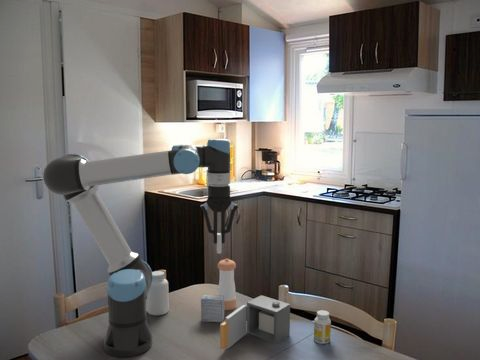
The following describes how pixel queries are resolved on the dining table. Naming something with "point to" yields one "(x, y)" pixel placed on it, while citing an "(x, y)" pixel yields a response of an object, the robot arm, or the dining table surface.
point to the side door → (233, 327)
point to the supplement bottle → (322, 327)
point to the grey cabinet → (268, 319)
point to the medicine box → (212, 308)
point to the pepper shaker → (227, 283)
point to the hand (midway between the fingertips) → (219, 252)
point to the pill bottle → (158, 294)
